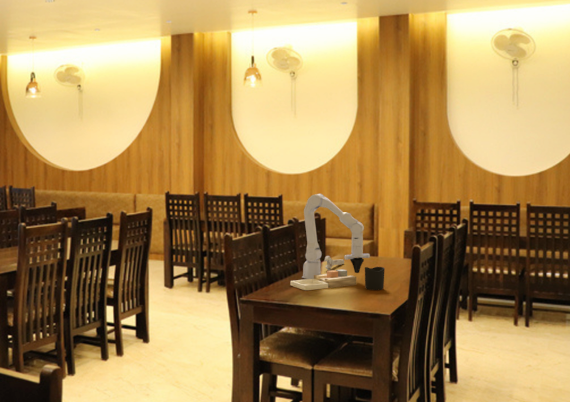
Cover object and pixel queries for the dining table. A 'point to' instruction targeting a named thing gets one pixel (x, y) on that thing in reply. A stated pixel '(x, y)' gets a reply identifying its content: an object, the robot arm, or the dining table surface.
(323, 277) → the grooved board
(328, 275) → the terracotta cube
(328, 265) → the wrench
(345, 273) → the matte grey cube
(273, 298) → the dining table surface
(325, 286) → the tray
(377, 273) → the pen holder
